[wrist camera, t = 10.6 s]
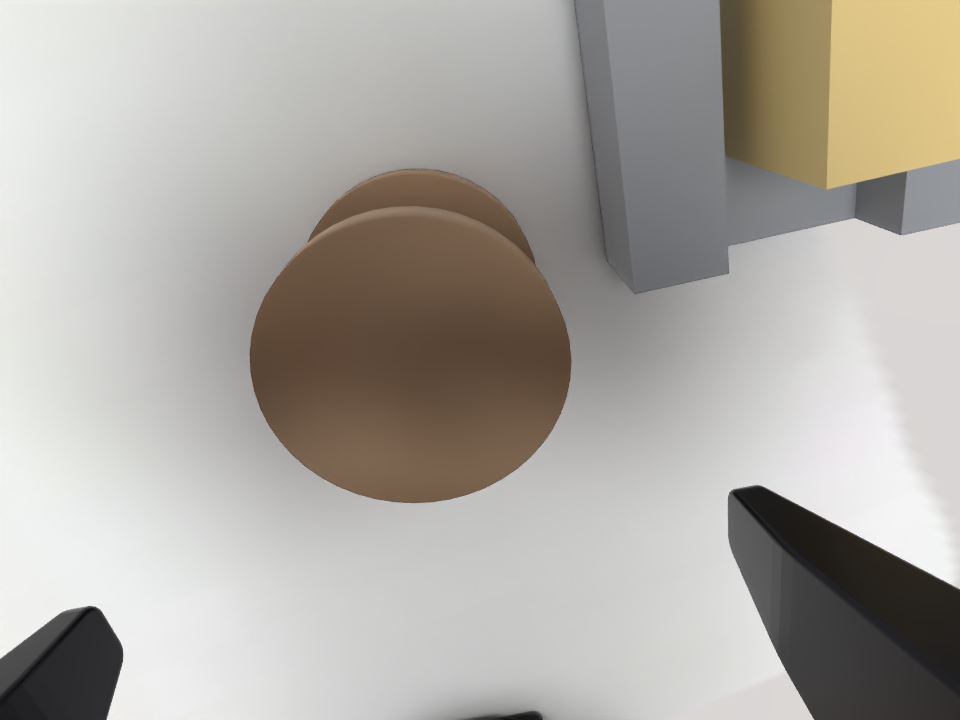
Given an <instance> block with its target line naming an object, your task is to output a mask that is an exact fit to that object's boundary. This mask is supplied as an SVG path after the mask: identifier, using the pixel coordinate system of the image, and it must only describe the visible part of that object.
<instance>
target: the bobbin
mask: <svg viewBox="0 0 960 720" xmlns="http://www.w3.org/2000/svg"><path fill="white" fill-rule="evenodd" d="M250 369H251V377H252V382H253V387H254V392H255V395H256V397H257V400H258V403H259V406H260V409H261V411H262V413H263V415H264V417H265V419H266V421H267V423H268V424H269V426H270V428H271V429H272V431H273V432H274V433H275V435H276V436H277V438H278V439H279V441H280V442H281V443H282V444H283V445H284V446H285V447H286V448H287V450H288V451H289V452H290V453H291V454H292V455H293V456H294V457H295V458H296V459H298V460H299V461H300V462H301V463H302V464H303V465H304V466H306V467H307V468H308V469H310V470H311V471H313V472H314V473H316V474H317V475H319V476H320V477H321V478H323V479H325V480H327V481H329V482H331V483H333V484H334V485H336V486H338V487H341V488H343V489H346V490H348V491H351V492H353V493H356V494H359V495H363V496H366V497H370V498H374V499H379V500H385V501H391V502H403V503H424V502H436V501H442V500H449V499H453V498H457V497H461V496H464V495H468V494H471V493H473V492H476V491H478V490H481V489H484V488H486V487H488V486H490V485H492V484H494V483H496V482H497V481H499V480H501V479H503V478H504V477H506V476H507V475H509V474H510V473H512V472H513V471H515V470H516V469H517V468H519V467H520V466H521V465H522V464H523V463H524V462H526V461H527V460H528V459H529V458H530V457H531V456H532V455H533V454H534V453H535V452H536V450H537V449H538V448H539V447H540V446H541V445H542V444H543V442H544V441H545V439H546V438H547V437H548V435H549V434H550V432H551V431H552V429H553V427H554V425H555V424H556V422H557V420H558V418H559V416H560V414H561V411H562V408H563V405H564V403H565V400H566V397H567V392H568V387H569V382H570V374H571V352H570V342H569V337H568V333H567V329H566V325H565V322H564V319H563V317H562V314H561V312H560V309H559V307H558V304H557V302H556V300H555V298H554V296H553V294H552V292H551V290H550V288H549V286H548V285H547V283H546V281H545V279H544V278H543V276H542V274H541V273H540V271H539V270H538V269H537V267H536V265H535V261H534V257H533V254H532V252H531V249H530V247H529V244H528V242H527V240H526V238H525V236H524V234H523V232H522V230H521V229H520V227H519V225H518V223H517V222H516V220H515V219H514V218H513V216H512V215H511V214H510V212H509V211H508V210H507V209H506V208H505V207H504V206H503V205H502V204H501V203H500V202H499V201H498V200H497V199H496V198H495V197H494V196H493V195H491V194H490V193H489V192H487V191H486V190H485V189H483V188H482V187H480V186H478V185H476V184H474V183H473V182H471V181H469V180H467V179H464V178H462V177H459V176H457V175H454V174H450V173H446V172H442V171H437V170H428V169H404V170H398V171H392V172H388V173H385V174H381V175H378V176H375V177H373V178H370V179H368V180H366V181H364V182H362V183H360V184H358V185H357V186H355V187H354V188H352V189H351V190H349V191H348V192H346V193H345V194H344V195H343V196H342V197H341V198H339V199H338V200H337V201H336V202H335V203H334V204H333V205H332V207H331V208H330V209H329V210H328V211H327V212H326V214H325V215H324V216H323V217H322V219H321V220H320V221H319V223H318V225H317V226H316V228H315V229H314V231H313V232H312V234H311V236H310V238H309V240H308V243H307V244H306V245H305V246H304V247H302V248H301V249H300V250H299V251H298V252H297V254H296V255H295V256H294V257H293V258H292V259H291V261H290V262H289V263H288V264H287V265H286V267H285V268H284V269H283V271H282V272H281V273H280V275H279V276H278V277H277V279H276V280H275V282H274V283H273V285H272V286H271V288H270V289H269V291H268V293H267V294H266V296H265V298H264V300H263V302H262V304H261V307H260V309H259V311H258V314H257V316H256V320H255V324H254V328H253V332H252V337H251V347H250Z"/></svg>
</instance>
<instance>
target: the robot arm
mask: <svg viewBox="0 0 960 720" xmlns="http://www.w3.org/2000/svg"><path fill="white" fill-rule="evenodd" d="M728 538H729V543H730V547H731V550H732V553H733V555H734V558H735V560H736V562H737V565H738V567H739V569H740V571H741V574H742V576H743V578H744V580H745V583H746V585H747V587H748V589H749V592H750V594H751V596H752V599H753V601H754V603H755V605H756V608H757V610H758V612H759V614H760V617H761V619H762V621H763V624H764V626H765V628H766V630H767V633H768V635H769V637H770V639H771V641H772V644H773V646H774V648H775V650H776V652H777V654H778V656H779V658H780V660H781V662H782V664H783V666H784V668H785V669H786V671H787V673H788V675H789V676H790V678H791V680H792V682H793V684H794V685H795V687H796V689H797V690H798V692H799V694H800V696H801V697H802V699H803V701H804V703H805V704H806V706H807V708H808V710H809V711H810V713H811V715H812V717H813V718H814V720H960V589H958V588H956V587H954V586H953V585H951V584H949V583H947V582H945V581H943V580H941V579H939V578H937V577H935V576H933V575H931V574H930V573H928V572H926V571H924V570H922V569H920V568H918V567H916V566H914V565H912V564H910V563H909V562H907V561H905V560H903V559H901V558H899V557H897V556H895V555H893V554H891V553H889V552H887V551H886V550H884V549H882V548H880V547H878V546H876V545H874V544H872V543H870V542H868V541H866V540H865V539H863V538H861V537H859V536H857V535H855V534H853V533H851V532H849V531H847V530H845V529H843V528H842V527H840V526H838V525H836V524H834V523H832V522H830V521H828V520H826V519H824V518H822V517H821V516H819V515H817V514H815V513H813V512H811V511H809V510H807V509H805V508H803V507H801V506H799V505H798V504H796V503H794V502H792V501H790V500H788V499H786V498H784V497H782V496H780V495H778V494H777V493H775V492H773V491H771V490H769V489H767V488H765V487H763V486H759V485H754V486H749V487H743V488H738V489H733V490H732V491H731V492H730V493H729V496H728ZM122 663H123V648H122V645H121V643H120V641H119V639H118V638H117V636H116V634H115V633H114V631H113V629H112V628H111V626H110V624H109V623H108V621H107V619H106V618H105V616H104V614H103V613H102V612H101V610H100V609H98V608H96V607H94V606H87V607H81V608H76V609H70V610H67V611H64V612H62V613H60V614H59V615H57V616H56V617H55V618H53V619H52V620H51V621H49V622H48V623H47V624H45V625H44V626H43V627H42V628H40V629H39V630H38V631H36V632H35V633H34V634H32V635H31V636H30V637H28V638H27V639H26V640H24V641H23V642H22V643H21V644H19V645H18V646H17V647H15V648H14V649H13V650H11V651H10V652H9V653H7V654H6V655H5V656H3V657H2V658H1V659H0V720H107V716H108V713H109V709H110V706H111V702H112V699H113V695H114V691H115V688H116V684H117V681H118V677H119V674H120V670H121V667H122ZM509 720H543V719H542V718H541V717H540V716H536V715H530V716H525V717H520V718H515V719H509Z"/></svg>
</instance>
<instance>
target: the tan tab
mask: <svg viewBox="0 0 960 720" xmlns="http://www.w3.org/2000/svg"><path fill="white" fill-rule="evenodd" d="M719 4H720V33H721V62H722V90H723V119H724V148H725V156H727V157H730V158H733V159H736V160H739V161H742V162H745V163H748V164H751V165H754V166H757V167H760V168H763V169H766V170H769V171H772V172H775V173H778V174H781V175H784V176H787V177H790V178H793V179H796V180H799V181H802V182H805V183H808V184H811V185H814V186H817V187H820V188H823V189H826V190H827V189H831V188H835V187H840V186H844V185H848V184H853V183H857V182H861V181H866V180H870V179H874V178H879V177H883V176H887V175H892V174H896V173H900V172H905V171H909V170H913V169H918V168H922V167H926V166H931V165H935V164H939V163H944V162H948V161H952V160H956V159H960V0H719Z"/></svg>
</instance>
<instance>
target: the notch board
mask: <svg viewBox="0 0 960 720" xmlns="http://www.w3.org/2000/svg"><path fill="white" fill-rule="evenodd" d="M574 1H575V9H576V17H577V25H578V32H579V40H580V48H581V56H582V64H583V72H584V80H585V88H586V96H587V104H588V112H589V120H590V128H591V136H592V144H593V152H594V160H595V168H596V176H597V184H598V192H599V200H600V208H601V216H602V224H603V232H604V240H605V248H606V256H607V261H608V263H609V264H610V265H611V266H612V267H613V269H614V270H615V271H616V272H617V273H618V275H619V276H620V277H621V278H622V279H623V281H624V282H625V283H626V284H627V285H628V287H629V288H630V289H631V290H632V291H633V293H634V294H637V293H642V292H646V291H651V290H655V289H660V288H665V287H669V286H674V285H678V284H683V283H687V282H692V281H696V280H701V279H706V278H710V277H715V276H719V275H724V274H728V273H729V263H728V246H730V245H735V244H739V243H744V242H748V241H753V240H757V239H762V238H766V237H771V236H775V235H780V234H784V233H789V232H793V231H798V230H802V229H807V228H811V227H816V226H820V225H825V224H830V223H834V222H839V221H843V220H847V219H852V218H856V219H859V220H862V221H864V222H867V223H869V224H872V225H875V226H878V227H880V228H883V229H885V230H888V231H891V232H893V233H896V234H899V235H905V234H910V233H915V232H919V231H924V230H929V229H933V228H938V227H942V226H947V225H951V224H956V223H960V159H956V160H952V161H948V162H944V163H939V164H935V165H931V166H926V167H922V168H918V169H913V170H909V171H905V172H900V173H896V174H892V175H887V176H883V177H879V178H874V179H870V180H866V181H861V182H857V183H853V184H848V185H844V186H840V187H835V188H831V189H827V190H826V189H823V188H820V187H817V186H814V185H811V184H808V183H805V182H802V181H799V180H796V179H793V178H790V177H787V176H784V175H781V174H778V173H775V172H772V171H769V170H766V169H763V168H760V167H757V166H754V165H751V164H748V163H745V162H742V161H739V160H736V159H733V158H730V157H727V156H725V148H724V119H723V90H722V62H721V33H720V4H719V0H574Z"/></svg>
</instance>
